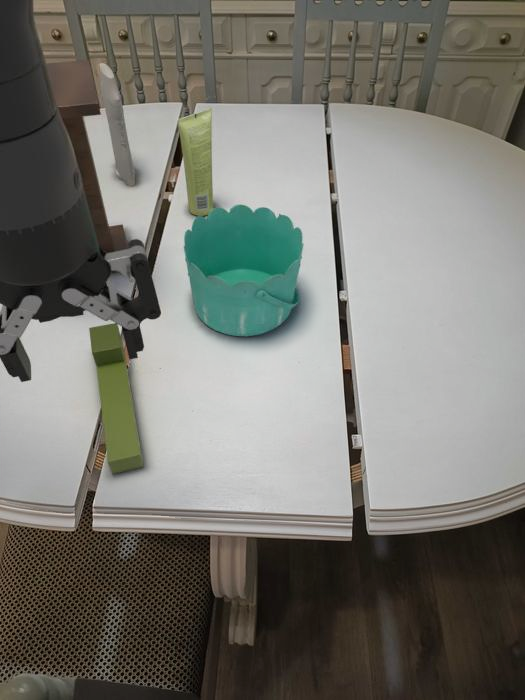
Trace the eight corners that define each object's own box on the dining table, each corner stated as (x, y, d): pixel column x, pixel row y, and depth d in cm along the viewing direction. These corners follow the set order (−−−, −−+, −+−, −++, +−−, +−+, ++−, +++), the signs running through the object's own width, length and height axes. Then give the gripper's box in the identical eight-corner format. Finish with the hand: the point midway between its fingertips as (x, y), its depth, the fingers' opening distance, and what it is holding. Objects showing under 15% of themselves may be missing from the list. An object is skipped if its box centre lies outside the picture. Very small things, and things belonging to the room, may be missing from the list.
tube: (191, 200, 109) (183, 104, 95) (216, 202, 109) (211, 106, 94) (186, 216, 106) (177, 119, 91) (211, 218, 105) (206, 121, 91)
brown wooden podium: (65, 309, 88) (-5, 113, 63) (59, 240, 100) (-2, 53, 75) (138, 295, 90) (98, 102, 66) (124, 230, 102) (85, 46, 78)
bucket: (195, 263, 96) (189, 201, 86) (296, 265, 96) (301, 204, 87) (184, 341, 84) (176, 279, 74) (300, 344, 84) (307, 282, 74)
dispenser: (110, 164, 118) (88, 58, 101) (128, 161, 119) (109, 55, 102) (123, 189, 111) (102, 80, 95) (142, 184, 113) (124, 76, 96)
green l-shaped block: (112, 474, 68) (102, 449, 64) (97, 354, 81) (89, 327, 77) (143, 466, 69) (136, 442, 64) (124, 349, 82) (117, 322, 78)
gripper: (128, 144, 36) (158, 315, 48) (-105, 172, 33) (-10, 347, 45) (145, 206, 31) (174, 378, 43) (-125, 245, 28) (-13, 418, 40)
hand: (80, 362), depth 44 cm, fingers open, 8 cm apart
